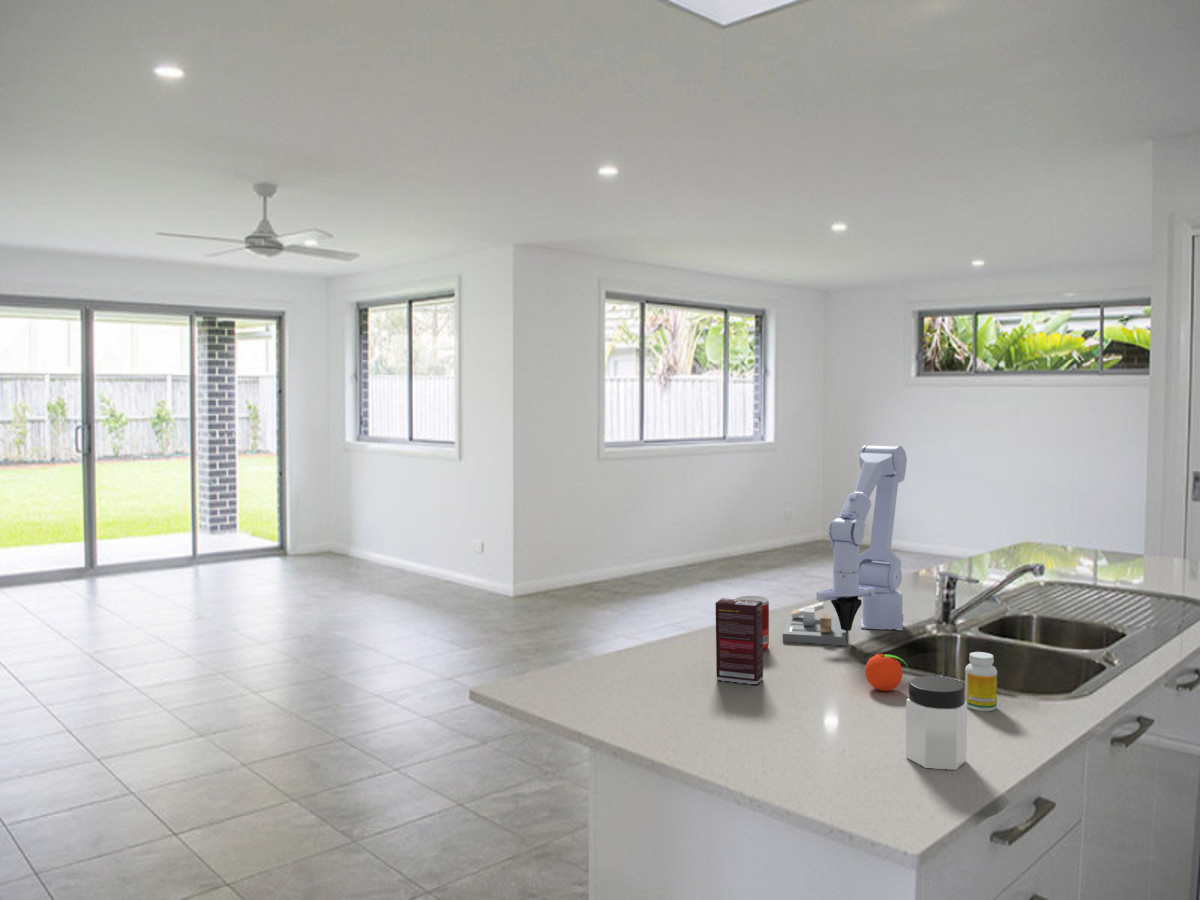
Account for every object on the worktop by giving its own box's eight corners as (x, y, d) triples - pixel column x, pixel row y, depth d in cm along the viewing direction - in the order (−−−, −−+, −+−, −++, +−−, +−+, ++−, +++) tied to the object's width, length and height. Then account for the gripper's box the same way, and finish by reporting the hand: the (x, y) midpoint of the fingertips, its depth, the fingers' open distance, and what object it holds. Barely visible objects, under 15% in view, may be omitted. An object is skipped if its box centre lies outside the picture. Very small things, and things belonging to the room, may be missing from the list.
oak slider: (831, 627, 213) (831, 614, 212) (831, 632, 208) (831, 618, 208) (820, 627, 213) (820, 613, 213) (820, 632, 209) (820, 618, 209)
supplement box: (763, 679, 183) (763, 600, 182) (757, 686, 178) (757, 605, 177) (722, 674, 186) (721, 597, 185) (715, 681, 182) (714, 602, 181)
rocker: (824, 605, 224) (823, 601, 224) (824, 608, 220) (822, 604, 220) (793, 614, 226) (791, 610, 226) (792, 618, 222) (790, 614, 222)
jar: (920, 744, 148) (921, 671, 147) (972, 757, 143) (973, 681, 142) (898, 762, 141) (899, 685, 140) (952, 775, 136) (953, 696, 135)
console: (846, 625, 224) (846, 612, 224) (846, 645, 206) (846, 631, 206) (787, 622, 228) (787, 609, 228) (782, 642, 210) (782, 628, 209)
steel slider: (814, 621, 219) (814, 608, 219) (813, 625, 215) (813, 612, 215) (804, 620, 220) (804, 607, 219) (803, 625, 215) (803, 611, 215)
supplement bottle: (959, 702, 168) (960, 650, 167) (989, 701, 168) (989, 650, 167) (971, 712, 162) (972, 659, 162) (1002, 711, 162) (1002, 658, 162)
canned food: (767, 643, 209) (767, 595, 208) (770, 653, 201) (770, 603, 201) (733, 642, 210) (733, 595, 209) (735, 652, 202) (735, 603, 201)
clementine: (907, 686, 177) (907, 650, 177) (909, 697, 171) (909, 660, 170) (864, 683, 180) (864, 647, 179) (864, 694, 173) (865, 657, 172)
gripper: (862, 565, 215) (862, 622, 216) (809, 570, 210) (809, 628, 211) (881, 570, 208) (880, 629, 209) (826, 575, 204) (826, 636, 204)
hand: (846, 629), depth 210 cm, fingers closed
